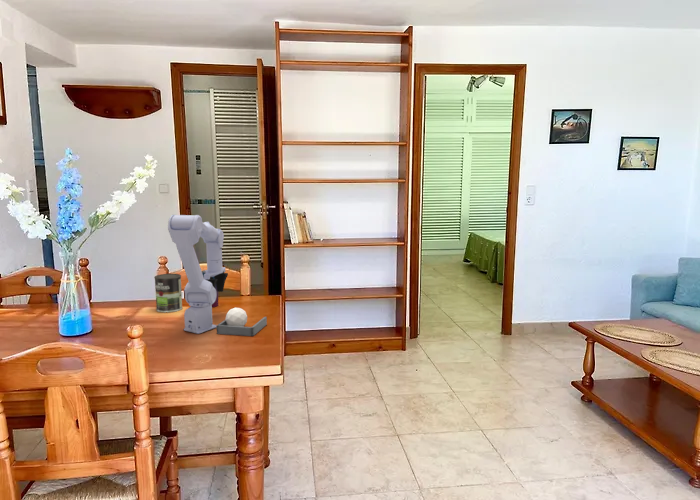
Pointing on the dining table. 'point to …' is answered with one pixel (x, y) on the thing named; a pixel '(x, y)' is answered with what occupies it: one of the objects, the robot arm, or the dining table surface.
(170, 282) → the coffee can
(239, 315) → the geometric ball
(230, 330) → the tray
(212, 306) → the cup
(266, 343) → the dining table surface
